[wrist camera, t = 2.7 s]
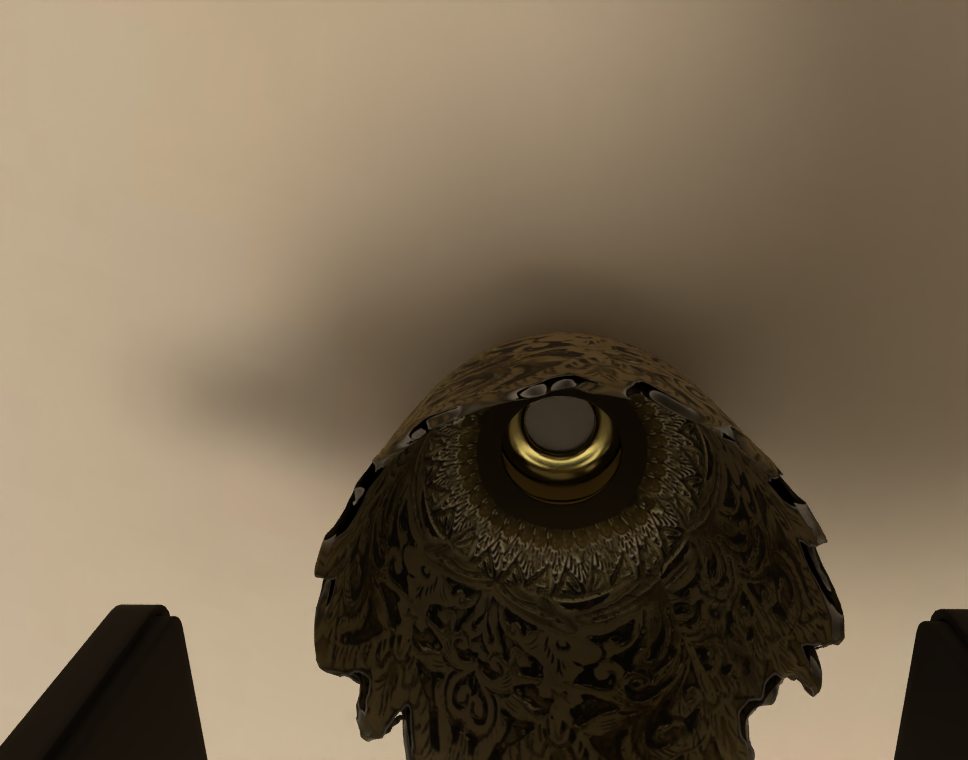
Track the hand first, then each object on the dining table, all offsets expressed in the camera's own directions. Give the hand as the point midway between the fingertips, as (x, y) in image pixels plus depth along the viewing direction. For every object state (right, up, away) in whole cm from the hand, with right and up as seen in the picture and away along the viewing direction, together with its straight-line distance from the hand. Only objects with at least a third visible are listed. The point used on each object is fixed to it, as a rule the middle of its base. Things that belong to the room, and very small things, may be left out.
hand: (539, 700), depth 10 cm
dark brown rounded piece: (+1, +3, +9) cm, 9 cm away
